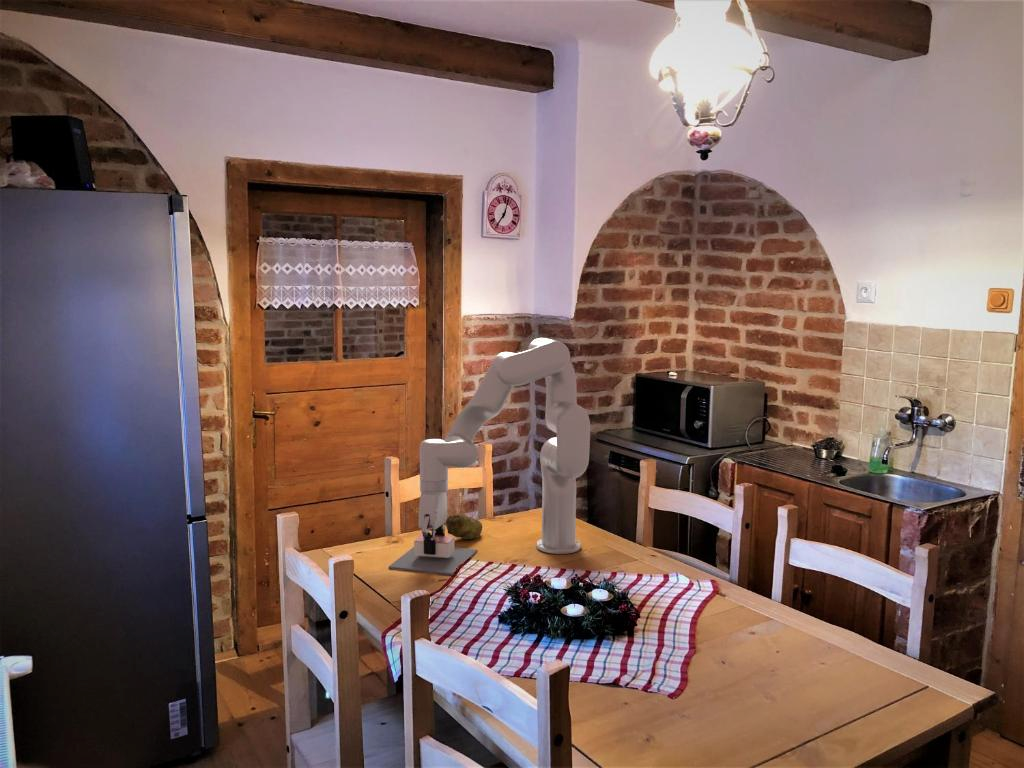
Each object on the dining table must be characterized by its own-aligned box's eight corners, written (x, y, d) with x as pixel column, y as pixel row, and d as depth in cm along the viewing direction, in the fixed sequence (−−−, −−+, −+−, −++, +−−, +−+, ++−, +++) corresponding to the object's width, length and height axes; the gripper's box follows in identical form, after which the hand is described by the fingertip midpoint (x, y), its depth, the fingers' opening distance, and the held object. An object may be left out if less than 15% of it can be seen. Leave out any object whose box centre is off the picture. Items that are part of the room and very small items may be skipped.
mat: (417, 545, 236) (417, 543, 236) (477, 551, 231) (477, 549, 231) (388, 568, 217) (388, 566, 217) (453, 575, 212) (453, 573, 212)
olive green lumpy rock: (491, 539, 242) (491, 512, 241) (452, 546, 236) (452, 519, 235) (477, 531, 249) (477, 506, 248) (439, 538, 243) (439, 512, 242)
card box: (454, 550, 226) (454, 536, 225) (448, 557, 220) (448, 543, 219) (421, 548, 227) (420, 534, 227) (414, 555, 222) (414, 541, 221)
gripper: (432, 477, 231) (433, 539, 233) (408, 492, 214) (409, 559, 216) (458, 479, 229) (458, 541, 231) (435, 494, 212) (435, 561, 214)
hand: (434, 549), depth 223 cm, fingers closed on card box, 6 cm apart
